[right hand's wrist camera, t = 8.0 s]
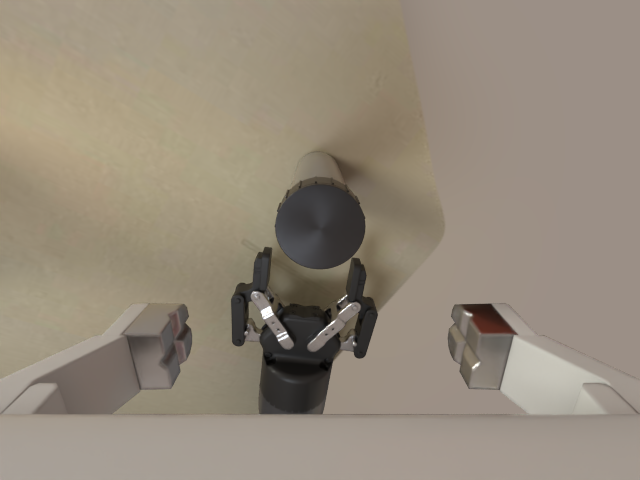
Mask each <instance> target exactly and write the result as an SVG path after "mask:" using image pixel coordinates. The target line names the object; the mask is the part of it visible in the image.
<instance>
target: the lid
mask: <svg viewBox="0 0 640 480" xmlns="http://www.w3.org/2000/svg"><path fill="white" fill-rule="evenodd" d="M359 204H360V202H359V200H358V198H357V196H355V195H354V194H353V192H352V191H351V190H350V189H349V188H348V187H347V185H346V184H345V185H344V184H343V183H341V182H339V181H337V180H335V179H333V178H332V177H331V178H327V177H317V176H315V177H313V178H308V179H305V180H303V181H301V180H300V181H299V183H297V184H296V185H294V186H293V187H292V188H291V189H290V190H287V193H286V195H285V196H284V198H283V200H282V202H281V203H280V204H279V207H278V210H277V212H278V214H277V218H276V224H275V231H276V237H277V240H278V243H279V245H280V247H281V248H282V250H283V251H284V253H285V254H286V255H287V256H288V257H289V258H290V259H292V260H293V261H294V262H296V263H298V264H300V265H302V266H304V267H308V268H312V269H328V268H333V267H336V266H338V265H341V264H343V263H344V262H346V261H347V260H349V259H350V258H351V257H352V256H353V255H354V254H355V253H356V252H357V250H358V249H359V247H360V245H361V243H362V241H363V238H364V234H365V216H364V214H363V212H362V209H361V207H360V205H359Z"/></svg>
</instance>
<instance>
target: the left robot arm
mask: <svg viewBox="0 0 640 480" xmlns="http://www.w3.org/2000/svg"><path fill="white" fill-rule="evenodd" d="M271 256H272V248H270V247H265V248H264V251H263V252H259V253H258V255H257V257H256V260H255V262H254V274H253V282H252V283H250V284H245V283H239V284H238V285H237V287H236V291H235V293H234V295H233V297H232V299H231V307H232V342H233V344H234V345H235V346H242V345H243V344H244V342H245V341H259V342H260V343H261V345H262V347H263V358H262V369H261V380H260V391H259V414H323V410H324V406H325V400H326V395H327V390H328V384H329V379H330V373H331V368H332V363H333V358H334V356H335V354H336V353H337V352H338V351H339V350H346V351H352V352H354V355H355V357H356V358H363V357H364V356H365V355H366V352H367V349H368V346H369V342H370V339H371V336H372V333H373V329H374V326H375V323H376V319H377V316H378V314H377V310H376V307H375V304H374V301H373V299H372V298H370V297H364V296H362V295H363V290H364V285H365V280H366V272H365V268H364V265H363V264H361V262H360V259H359V258H352V259H351V264H350V270H349V275H348V280H347V286H346V292H347V293H346V294H345V295H343V296H342V297H341V298H340V299H339V300H338V301H333V302H332V303H331V304H330V305H328V306H327V307H326V308H325V309H324V310H321V309H320V307H319V306H306V307H304V306H301V305H298V304H291V303H290V306H286V307H285V306H284V304H283V303H282V301H281V300H280V299H279V297H278V296H277V295H276V294H274V293H273V292H272V290H271V289H270V288H269V286H268V283H269V277H270V266H271ZM249 301H253V302H254V304H255V305H256V306H257V308H258V309H259V310H260V312H261V314H262V318H263V320H264V321H265V322H266V324H265V325H264V326H263V327H262V329H259V328H257V327H256V326H255V322H254V321H253V319H252V318H249ZM356 313H359V315H358V318H357V322H356V326H355V329H351V330H350V331H349V332H348V334H347V335H346V336H345V337H340V335H339V333H338V332H339V331H340V330H341V329H342V328H344V326H345V325H346V322H347V321H348V320H349V319H350V318H352V317H353V316H354V315H355V314H356Z"/></svg>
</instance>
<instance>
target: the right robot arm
mask: <svg viewBox="0 0 640 480" xmlns="http://www.w3.org/2000/svg"><path fill="white" fill-rule="evenodd" d="M188 317H189V315H188V310H187V307H186V306H185V305H184V304H157V303H152V304H150V303H136V304H131V305H130V306H129V307H128V308H127V310H126V311H125V312H124V313H123V314H122V315H121V316H120V317H119V318H118V319H117V320H116V321H115V322H114V323H113V324H112V325H111V326H110V327H109V328H108V329H107V330H106V331H105V332H104V333H103V334H102V335H96V336H93V337H91V338H89V339H87V340H85V341H83V342H80V343H78V344H76V345H74V346H72V347H69V348H67V349H65V350H63V351H61V352H59V353H56V354H54V355H52V356H50V357H48V358H45V359H43V360H41V361H39V362H37V363H35V364H32V365H30V366H28V367H26V368H24V369H21V370H19V371H17V372H15V373H13V374H11V375H8V376H6V377H4V378H2V379H0V480H640V379H638V378H636V377H633V376H631V375H629V374H627V373H625V372H623V371H620V370H618V369H616V368H614V367H612V366H610V365H607V364H605V363H603V362H601V361H599V360H597V359H594V358H592V357H590V356H588V355H586V354H583V353H581V352H579V351H577V350H575V349H573V348H570V347H568V346H566V345H564V344H562V343H559V342H557V341H555V340H553V339H551V338H549V337H547V336H544V335H538V334H537V333H536V332H535V331H534V330H533V329H532V328H531V327H530V326H529V325H528V324H527V323H526V322H525V321H524V320H523V319H522V318H521V317H520V316H519V315H518V314H517V313H516V312H515V311H514V309H513V308H512V307H511V306H510V305H508V304H506V303H493V304H459V305H454V307H453V309H452V315H451V317H452V319H453V320H454V322H455V323H454V324H453V325H452V326H451V328H449V333H448V346H449V350H450V353H451V356H452V358H453V360H454V361H456V362H457V363H459V364H460V365H461V366H460V373H461V375H462V377H463V379H464V380H465V382H466V384H467V386H468V388H469V389H493V390H500V392H501V393H503V394H504V395H505V396H506V397H508V398H509V399H510V400H511V401H513V402H514V403H515V404H516V405H518V406H519V407H520V408H522V409H523V410H524V411H525V412H526V413H528V414H112V413H114V412H115V411H116V410H117V409H119V408H120V407H121V406H122V405H124V404H125V403H126V402H127V401H129V400H130V399H131V398H132V397H134V396H135V395H136V394H137V393H139V392H140V390H147V389H171V388H172V386H173V384H174V382H175V380H176V379H177V377H178V375H179V373H180V366H179V365H180V364H181V363H183V362H184V361H186V360H187V358H188V356H189V354H190V350H191V345H192V333H191V328H190V327H189V326H188V325H187V324H186V323H185V322H186V320H187V319H188Z"/></svg>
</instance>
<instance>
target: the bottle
mask: <svg viewBox="0 0 640 480" xmlns="http://www.w3.org/2000/svg"><path fill="white" fill-rule="evenodd" d="M315 176H317V177H327V178H331V177H332V178H333V179H335V180H337V181H339V182H341V183H343V184H344V185H345V182H344V179H343V177H342V174H341V172H340V169H339V167H338V164H337V162H336V161H335V160H334V159H333V157H331V156H330V155H328V154H326V153H324V152H312V153H309V154H307V155H305V156H304V157H303V158H302V159H301V160H300V161H299V163H298V165H297V168H296V171H295V175H294V178H293V181H292V185H291V188H292V187H293V186H294V185H296V184H297V183H299V181H300V180H301V181H303V180H305V179H308V178H313V177H315ZM291 188H290V189H291Z"/></svg>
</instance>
